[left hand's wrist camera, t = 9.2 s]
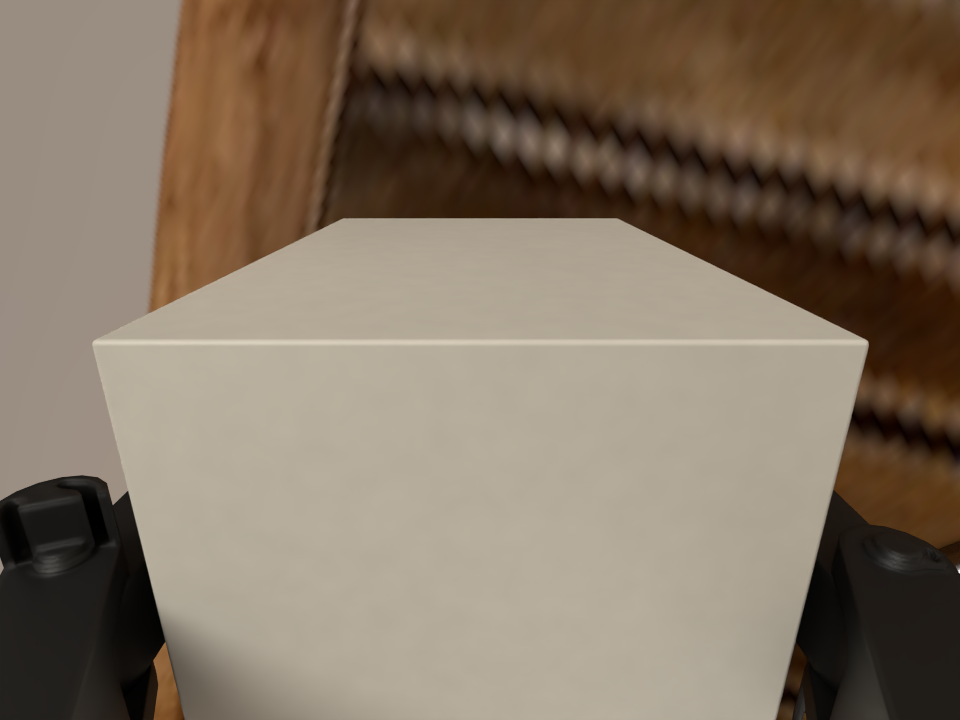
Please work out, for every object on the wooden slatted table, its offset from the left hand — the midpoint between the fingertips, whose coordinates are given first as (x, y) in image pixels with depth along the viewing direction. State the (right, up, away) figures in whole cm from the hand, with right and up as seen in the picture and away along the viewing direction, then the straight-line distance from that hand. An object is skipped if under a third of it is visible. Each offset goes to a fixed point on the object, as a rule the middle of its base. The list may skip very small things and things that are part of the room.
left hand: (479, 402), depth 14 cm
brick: (0, +1, +3) cm, 3 cm away
